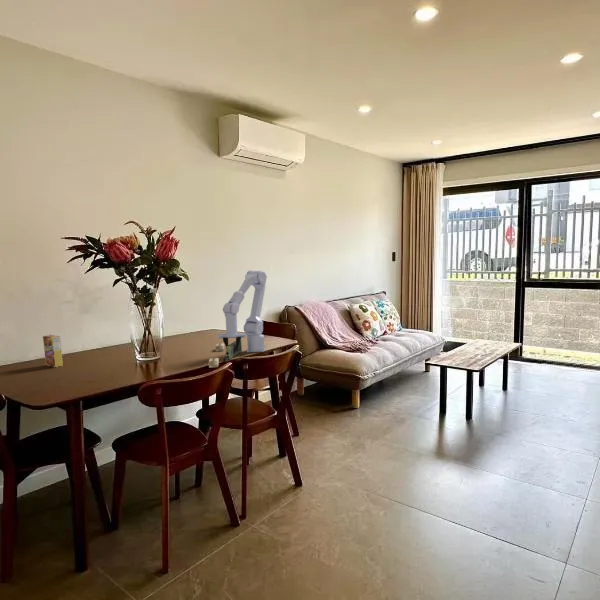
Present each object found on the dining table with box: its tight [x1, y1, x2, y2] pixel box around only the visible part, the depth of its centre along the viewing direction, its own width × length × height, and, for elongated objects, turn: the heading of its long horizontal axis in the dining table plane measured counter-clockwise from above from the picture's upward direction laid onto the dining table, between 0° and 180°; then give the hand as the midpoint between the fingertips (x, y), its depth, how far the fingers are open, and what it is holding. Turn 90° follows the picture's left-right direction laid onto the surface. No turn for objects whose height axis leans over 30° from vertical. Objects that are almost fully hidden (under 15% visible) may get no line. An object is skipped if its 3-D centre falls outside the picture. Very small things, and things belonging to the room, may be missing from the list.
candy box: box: [42, 334, 64, 368], centre depth 226 cm, size 9×4×15 cm, turn 57°
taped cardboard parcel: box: [208, 342, 225, 368], centre depth 237 cm, size 4×42×3 cm, turn 5°
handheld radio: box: [222, 339, 243, 362], centre depth 237 cm, size 7×3×25 cm
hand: (232, 351), depth 237 cm, fingers closed on handheld radio, 4 cm apart
